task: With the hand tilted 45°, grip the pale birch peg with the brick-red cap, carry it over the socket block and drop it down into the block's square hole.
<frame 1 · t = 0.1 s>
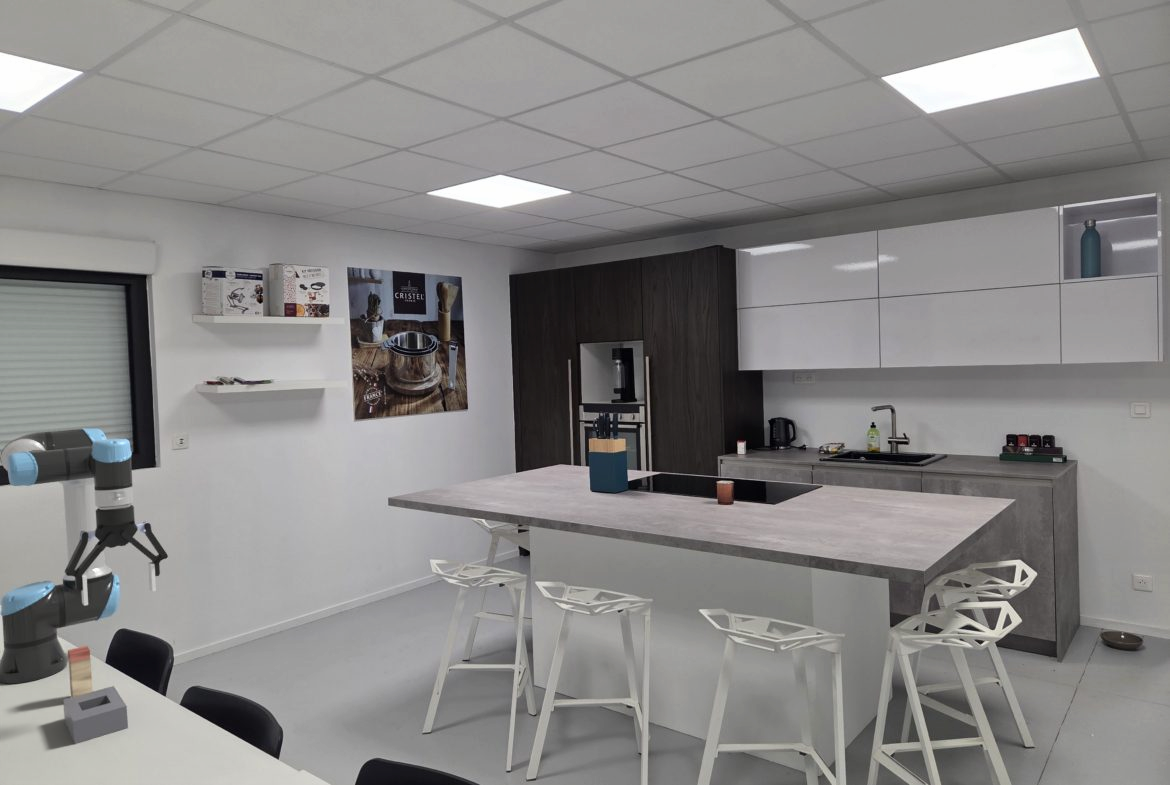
hand: (119, 597, 175), 28 cm above the table, tool pointing down, fingers open, 13 cm apart
socket block: (95, 724, 172), on the table
plug peg: (82, 697, 186), on the table
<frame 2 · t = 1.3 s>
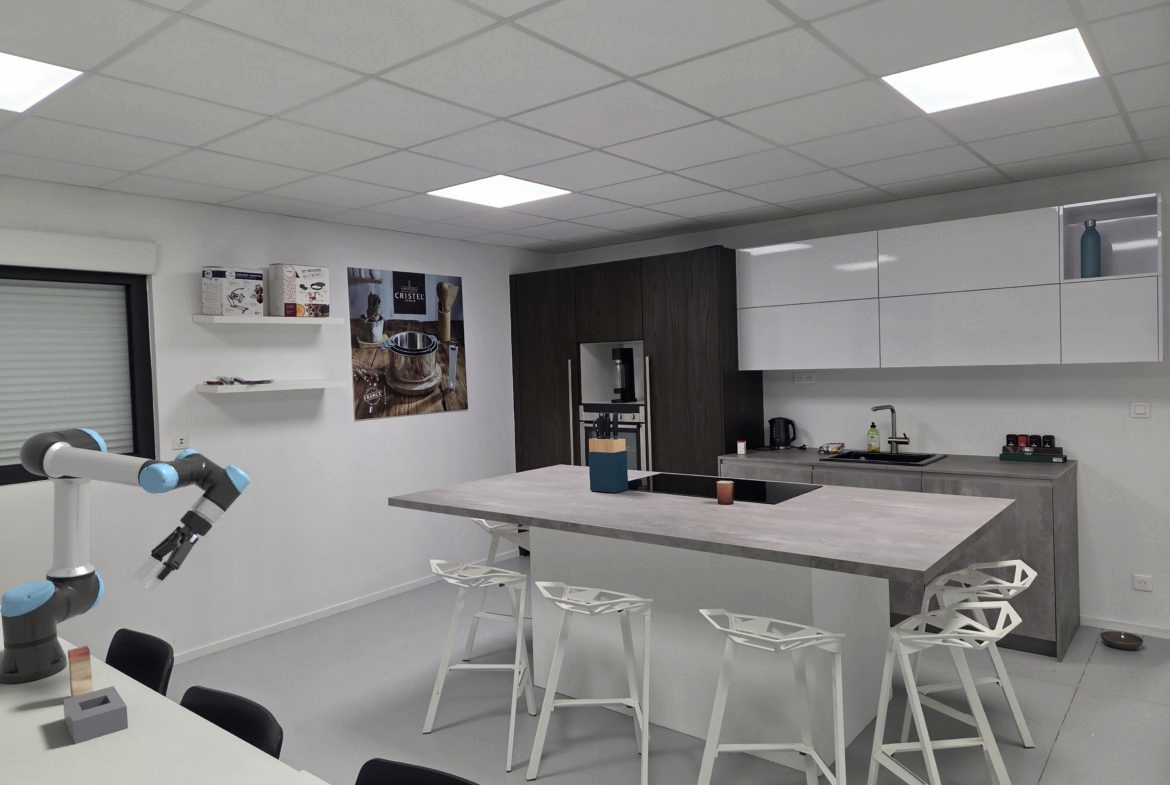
hand: (142, 584, 195), 25 cm above the table, tool tilted 45°, fingers open, 13 cm apart
nothing on the table moved.
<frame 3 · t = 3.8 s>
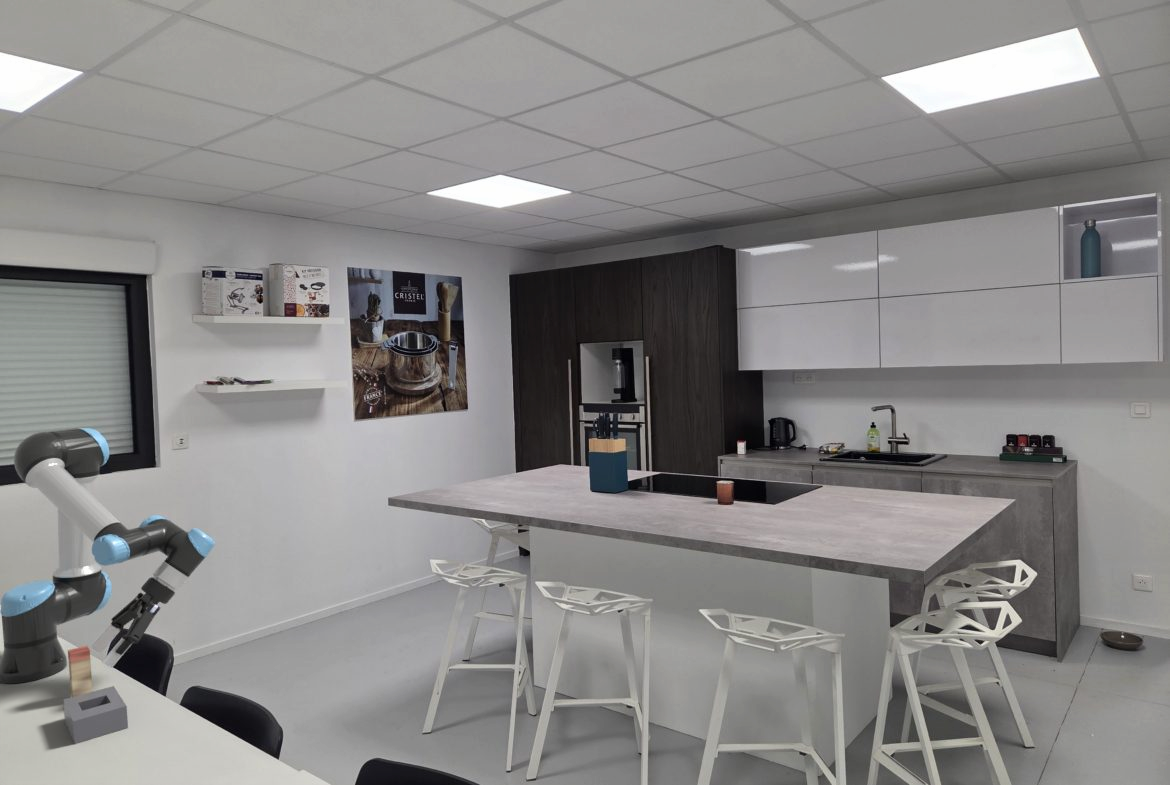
hand: (101, 657, 188), 9 cm above the table, tool tilted 45°, fingers open, 13 cm apart
nothing on the table moved.
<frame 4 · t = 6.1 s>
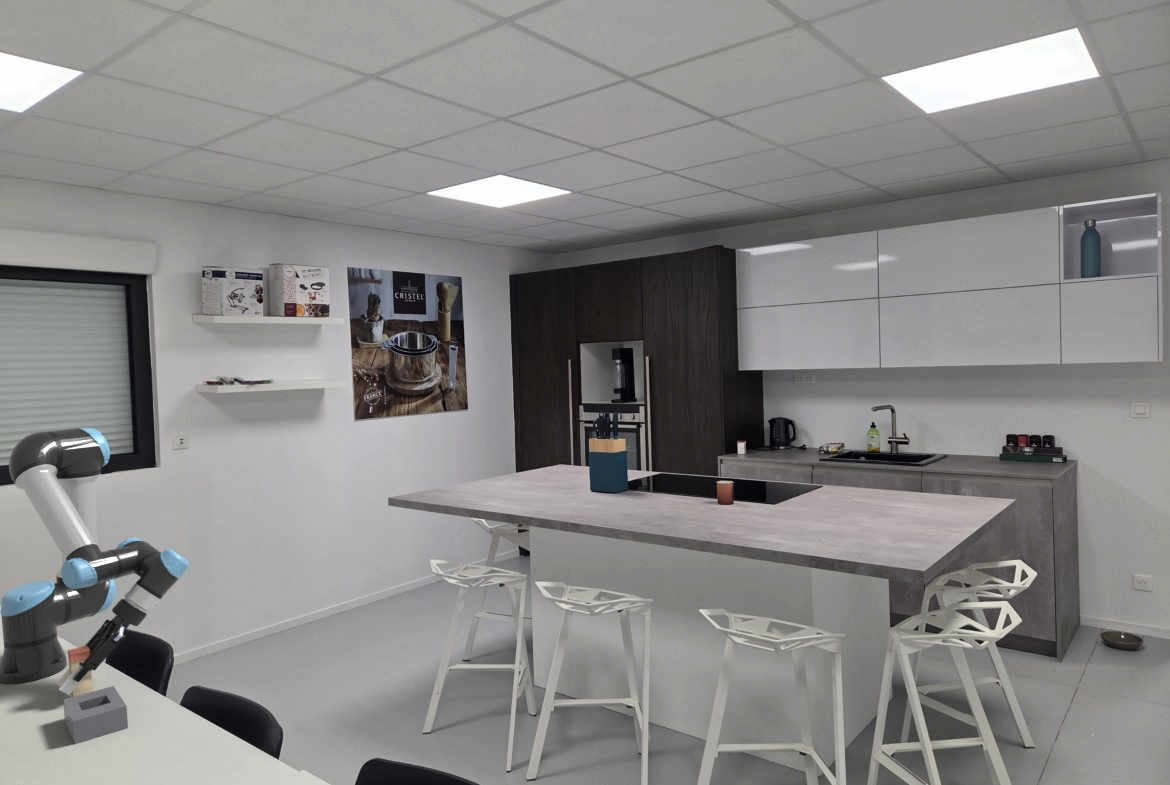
hand: (62, 688, 184), 3 cm above the table, tool tilted 45°, fingers closed on plug peg, 4 cm apart
plug peg: (82, 697, 186), on the table, touching gripper
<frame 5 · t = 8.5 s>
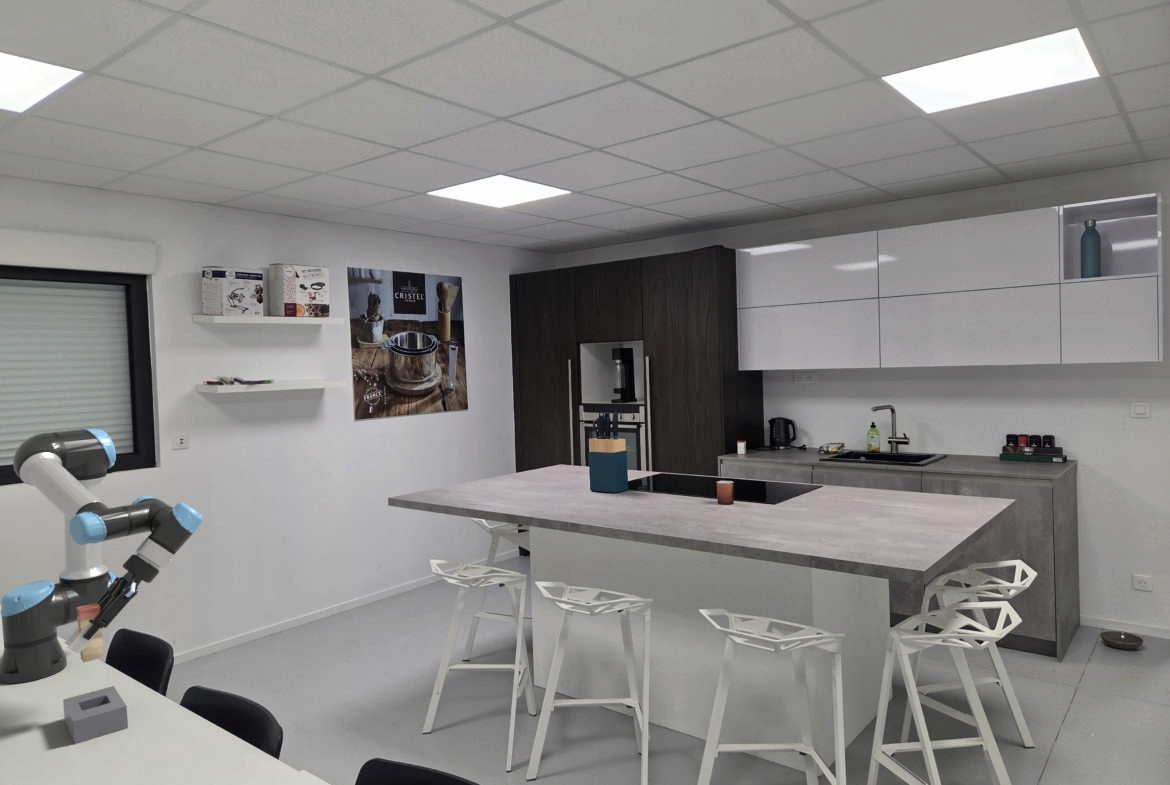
hand: (71, 648, 173), 17 cm above the table, tool tilted 45°, fingers closed on plug peg, 4 cm apart
plug peg: (92, 657, 176), point 14 cm above the table, touching gripper
when the fingers open (7 cm above the table, at t = 11.2 s): plug peg drops 4 cm, resting in socket block.
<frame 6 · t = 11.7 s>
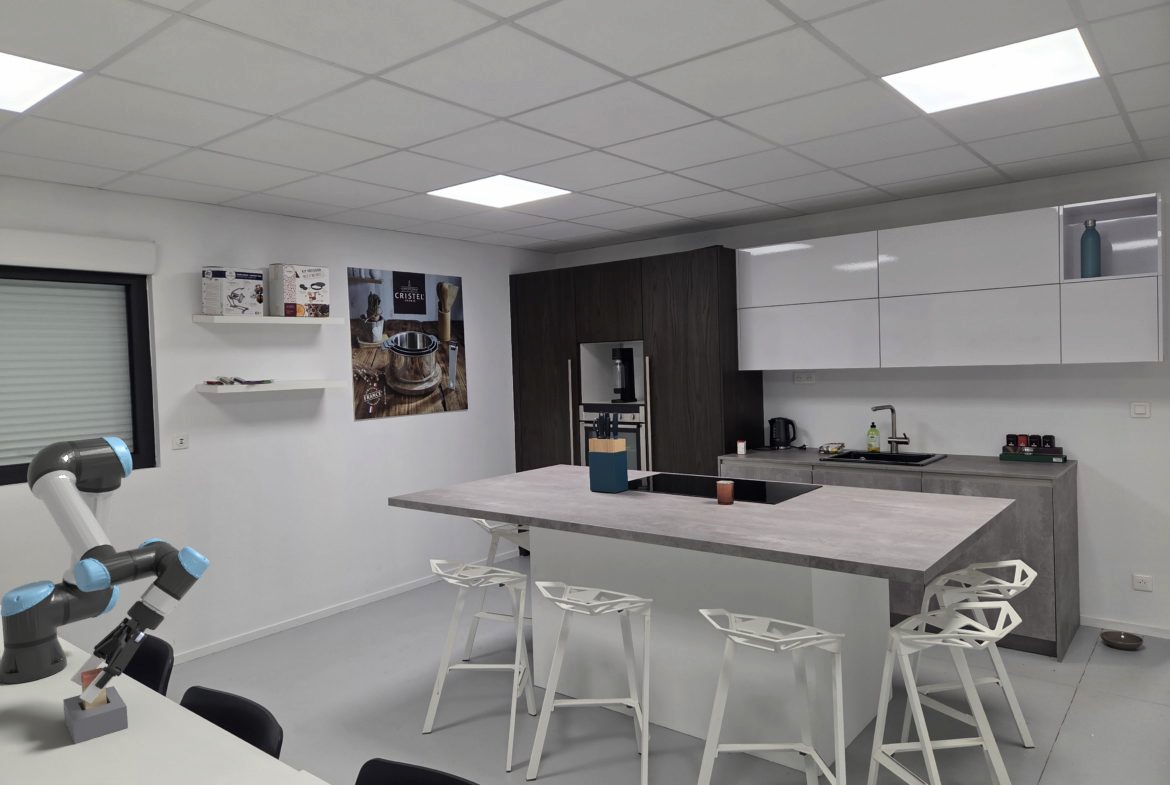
hand: (80, 691, 170), 8 cm above the table, tool tilted 45°, fingers open, 12 cm apart
plug peg: (96, 724, 172), resting in socket block
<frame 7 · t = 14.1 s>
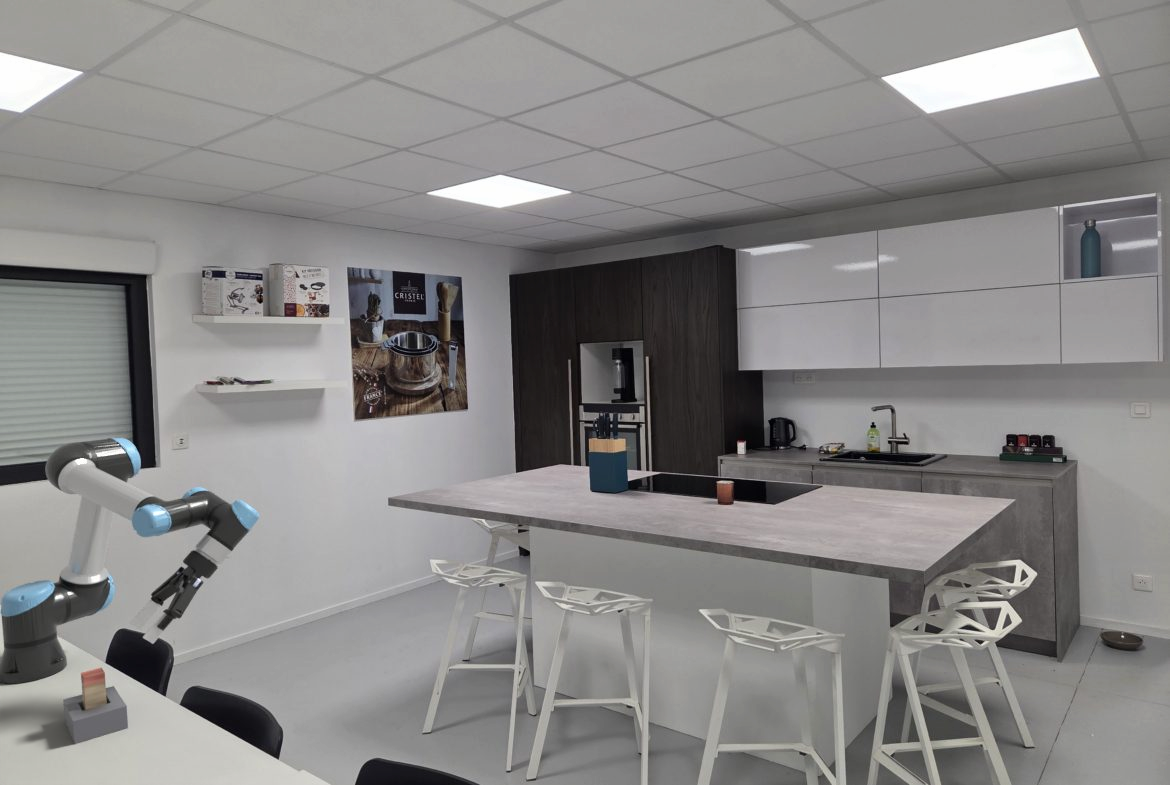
hand: (141, 633, 177), 18 cm above the table, tool tilted 45°, fingers open, 13 cm apart
nothing on the table moved.
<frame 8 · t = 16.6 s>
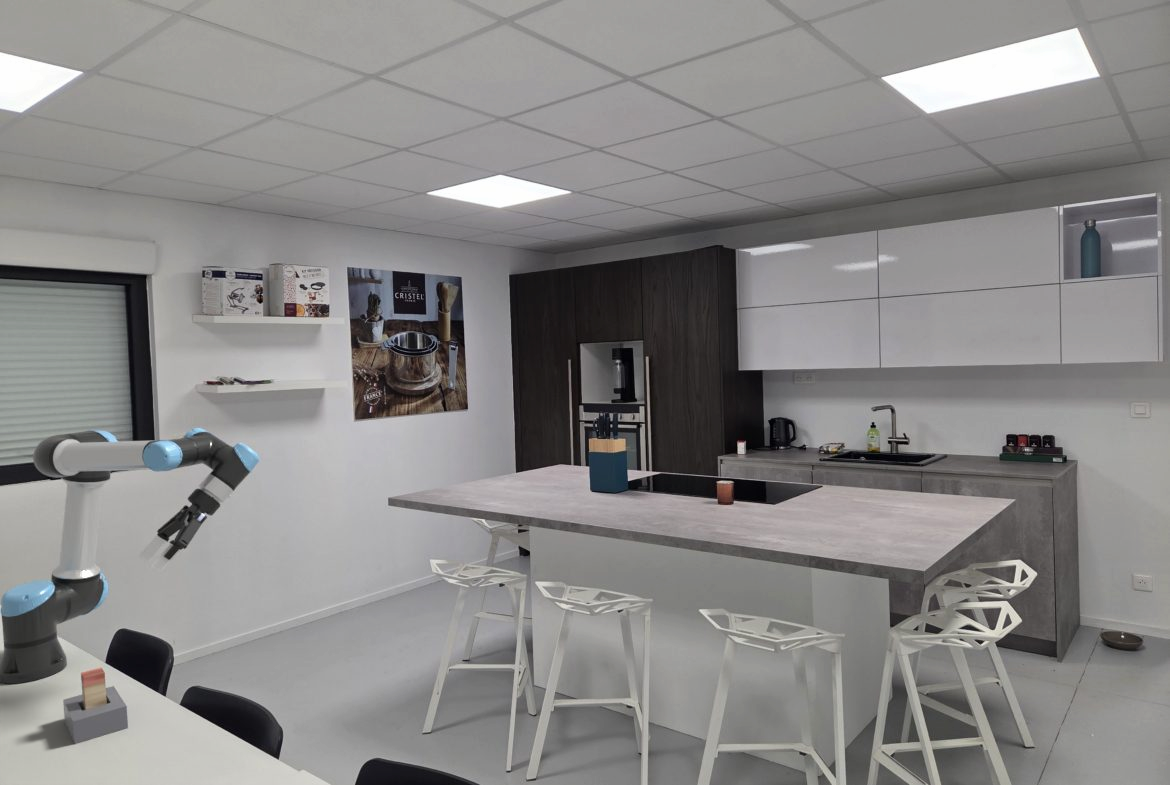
hand: (148, 564, 189), 32 cm above the table, tool tilted 45°, fingers open, 13 cm apart
nothing on the table moved.
at the end: plug peg 0.1 cm off-centre on the socket block, point 0.0 cm above the socket block's base; plug peg tilted 0°; the gripper is holding nothing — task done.
